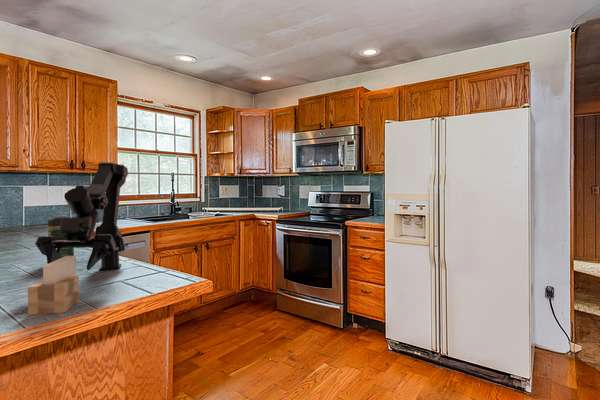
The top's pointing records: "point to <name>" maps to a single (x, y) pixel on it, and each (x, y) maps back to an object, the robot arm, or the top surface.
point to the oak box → (53, 296)
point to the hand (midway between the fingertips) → (68, 270)
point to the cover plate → (59, 270)
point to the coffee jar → (59, 235)
